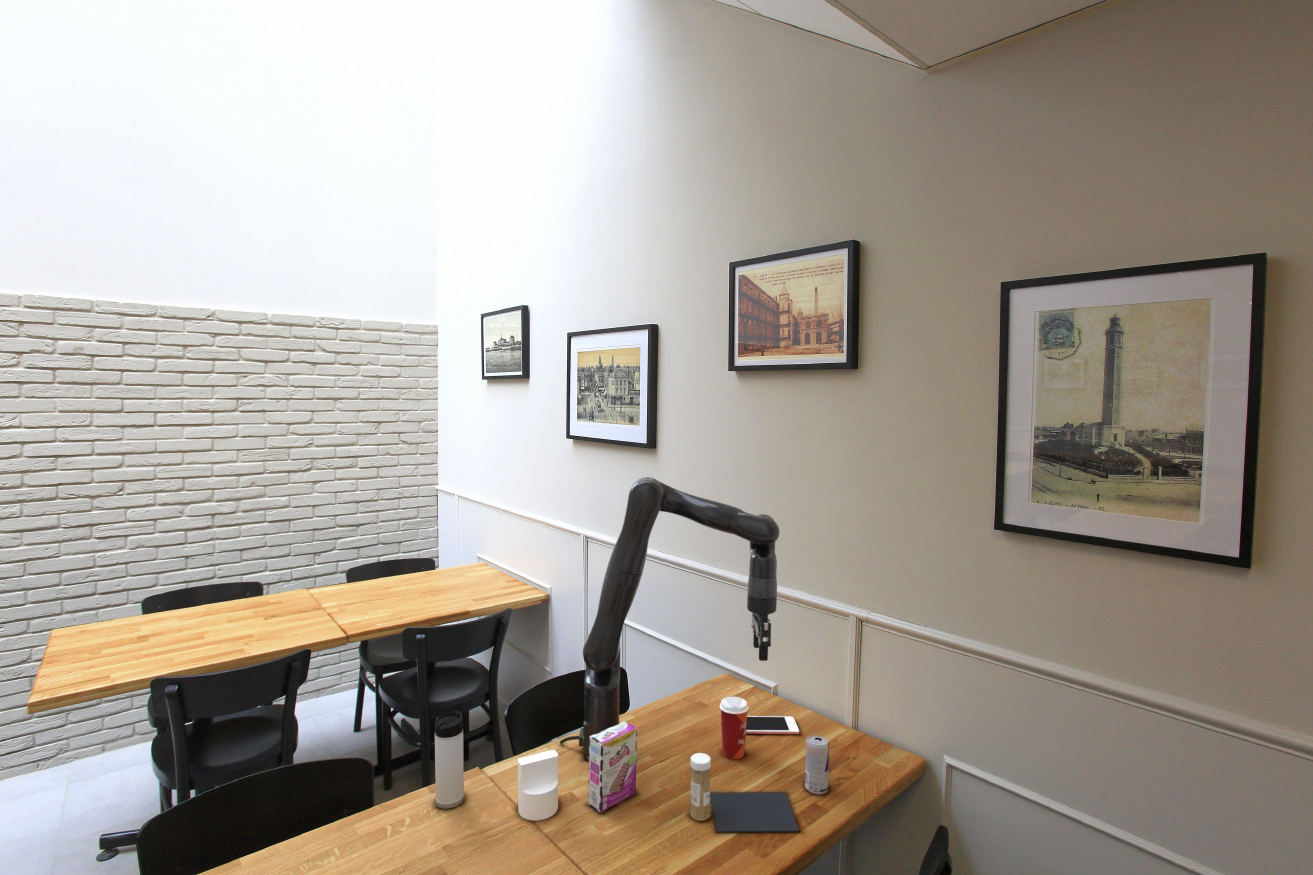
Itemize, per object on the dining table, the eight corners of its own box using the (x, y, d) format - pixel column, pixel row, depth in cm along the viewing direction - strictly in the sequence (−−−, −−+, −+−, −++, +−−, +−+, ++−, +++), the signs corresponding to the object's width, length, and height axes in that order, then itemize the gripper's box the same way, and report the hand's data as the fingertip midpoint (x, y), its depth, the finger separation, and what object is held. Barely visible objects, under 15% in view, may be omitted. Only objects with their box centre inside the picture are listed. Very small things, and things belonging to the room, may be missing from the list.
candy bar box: (601, 814, 147) (601, 744, 146) (587, 804, 151) (587, 735, 150) (637, 794, 155) (638, 726, 154) (623, 785, 159) (624, 719, 158)
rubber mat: (716, 832, 141) (716, 830, 141) (710, 793, 155) (710, 792, 155) (799, 832, 142) (799, 830, 142) (785, 793, 156) (785, 791, 155)
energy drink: (829, 785, 159) (830, 737, 158) (825, 797, 154) (826, 747, 153) (807, 779, 161) (808, 732, 161) (803, 791, 156) (803, 742, 156)
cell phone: (799, 734, 183) (799, 731, 183) (735, 733, 183) (735, 730, 183) (793, 719, 192) (793, 716, 192) (732, 718, 192) (732, 715, 192)
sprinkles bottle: (713, 820, 145) (713, 761, 145) (693, 822, 144) (693, 763, 144) (706, 807, 150) (707, 750, 149) (687, 810, 149) (688, 753, 148)
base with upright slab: (524, 824, 143) (524, 771, 143) (513, 802, 151) (513, 752, 151) (563, 813, 148) (563, 761, 147) (550, 792, 156) (550, 743, 155)
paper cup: (749, 761, 169) (750, 708, 169) (720, 760, 169) (720, 708, 169) (746, 745, 177) (746, 695, 176) (717, 745, 177) (718, 694, 177)
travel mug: (470, 795, 154) (469, 712, 153) (452, 811, 148) (451, 725, 147) (447, 789, 156) (446, 708, 155) (429, 805, 150) (428, 721, 149)
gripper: (743, 584, 176) (741, 643, 177) (752, 600, 162) (750, 664, 162) (771, 584, 176) (769, 643, 177) (782, 600, 162) (780, 664, 163)
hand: (760, 653), depth 170 cm, fingers open, 8 cm apart
